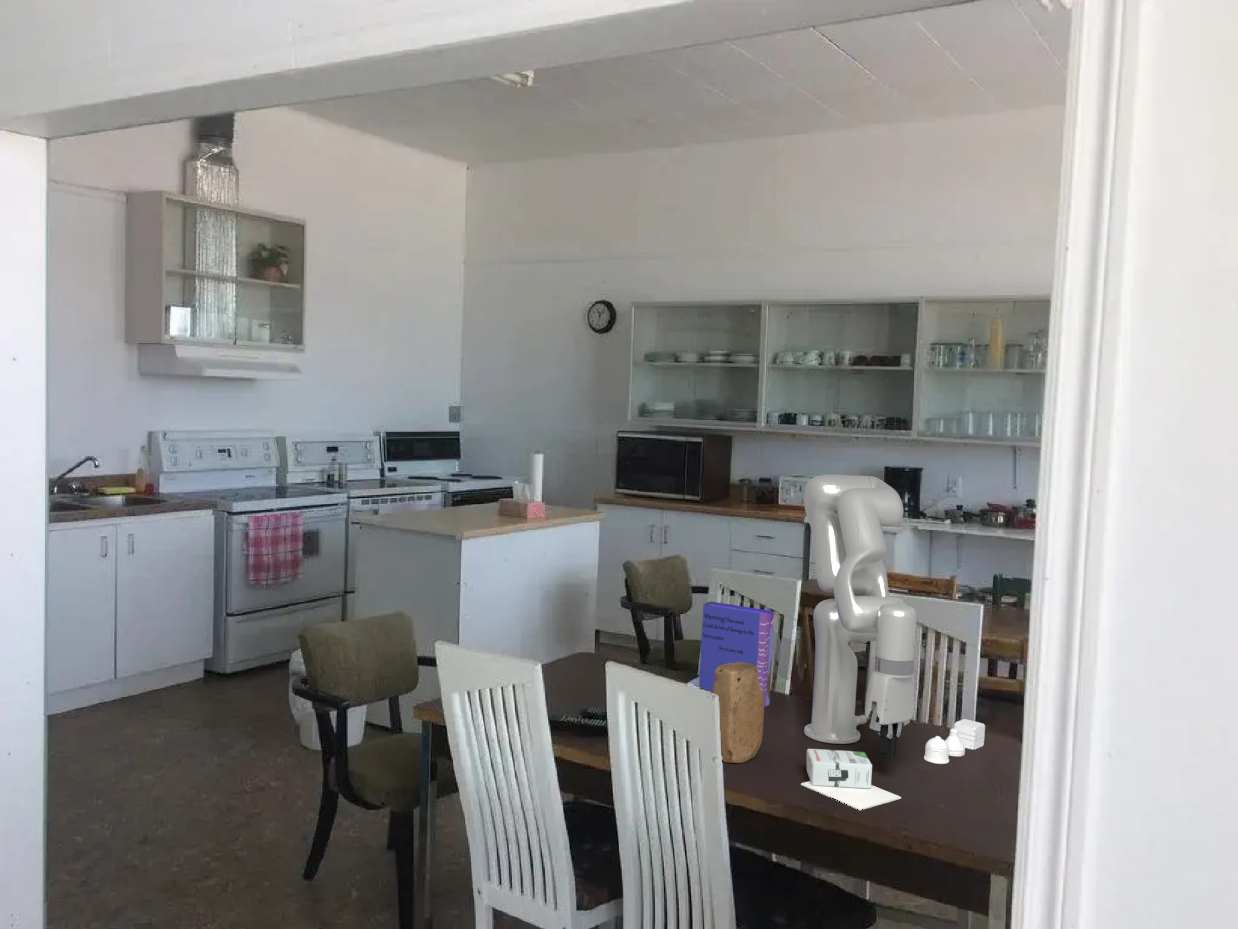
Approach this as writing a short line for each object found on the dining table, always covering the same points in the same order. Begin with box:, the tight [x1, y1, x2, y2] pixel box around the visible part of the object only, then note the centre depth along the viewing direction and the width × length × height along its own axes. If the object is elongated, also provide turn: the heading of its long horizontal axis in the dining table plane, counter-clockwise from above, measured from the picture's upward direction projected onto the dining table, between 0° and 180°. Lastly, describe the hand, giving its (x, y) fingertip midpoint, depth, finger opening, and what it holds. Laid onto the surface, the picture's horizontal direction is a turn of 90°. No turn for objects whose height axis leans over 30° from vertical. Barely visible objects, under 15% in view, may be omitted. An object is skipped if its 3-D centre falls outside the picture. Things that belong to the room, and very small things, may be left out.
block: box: [712, 662, 765, 764], centre depth 222 cm, size 11×8×20 cm
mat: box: [800, 780, 902, 811], centre depth 206 cm, size 12×15×1 cm
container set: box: [923, 718, 986, 765], centre depth 233 cm, size 20×5×6 cm, turn 135°
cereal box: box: [698, 601, 775, 709], centre depth 265 cm, size 17×5×24 cm, turn 59°
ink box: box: [806, 748, 873, 789], centre depth 211 cm, size 9×5×12 cm
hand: (887, 755), depth 212 cm, fingers closed
